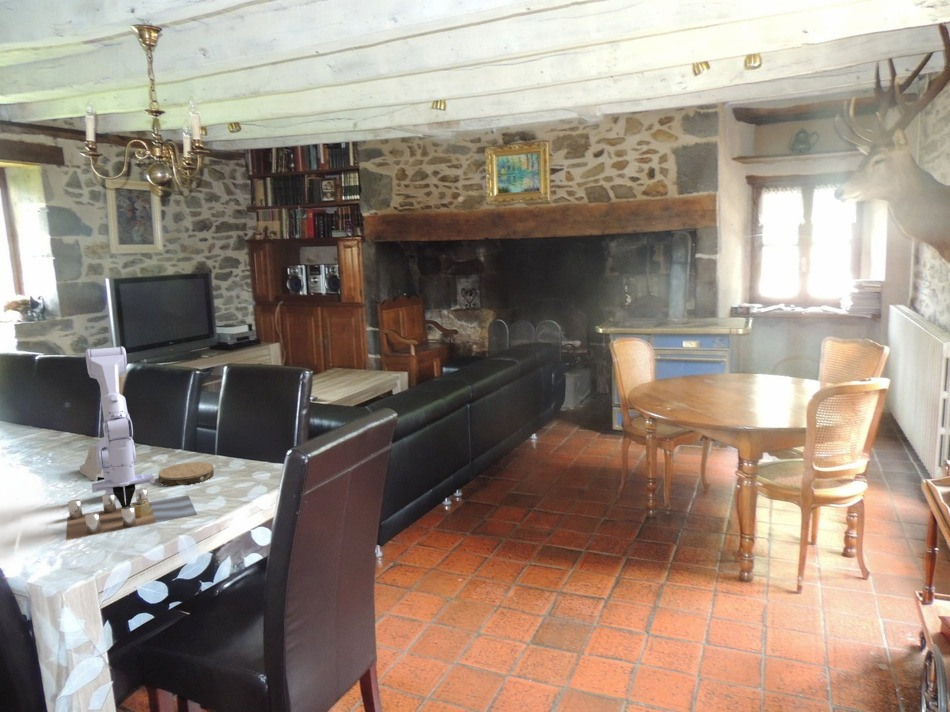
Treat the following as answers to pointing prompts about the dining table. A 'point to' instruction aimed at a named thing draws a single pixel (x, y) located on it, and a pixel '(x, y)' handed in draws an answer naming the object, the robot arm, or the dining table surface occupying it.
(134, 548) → the dining table surface
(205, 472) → the brown flat round disc
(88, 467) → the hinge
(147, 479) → the robot arm
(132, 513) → the steel spacers
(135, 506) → the brass nut
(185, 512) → the spacer board
